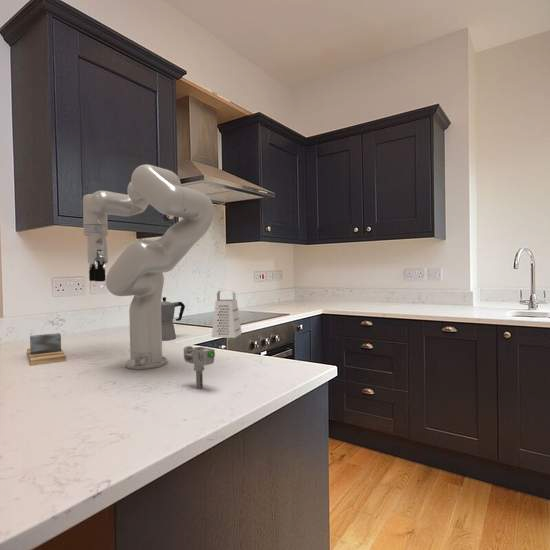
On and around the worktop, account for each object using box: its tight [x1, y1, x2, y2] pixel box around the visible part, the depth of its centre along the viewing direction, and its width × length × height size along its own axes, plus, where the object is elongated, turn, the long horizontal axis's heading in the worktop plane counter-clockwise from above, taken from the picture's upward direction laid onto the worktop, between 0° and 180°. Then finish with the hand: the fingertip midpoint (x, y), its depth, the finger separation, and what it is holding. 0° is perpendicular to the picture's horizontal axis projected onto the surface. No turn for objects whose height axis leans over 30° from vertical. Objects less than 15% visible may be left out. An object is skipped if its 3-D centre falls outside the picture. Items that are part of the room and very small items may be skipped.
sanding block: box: [29, 332, 62, 355], centre depth 135 cm, size 9×4×6 cm, turn 125°
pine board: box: [26, 348, 67, 366], centre depth 135 cm, size 24×10×2 cm, turn 35°
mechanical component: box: [183, 345, 216, 389], centre depth 96 cm, size 3×10×10 cm, turn 51°
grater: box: [211, 289, 243, 339], centre depth 171 cm, size 10×10×20 cm
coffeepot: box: [161, 296, 186, 342], centre depth 166 cm, size 15×9×18 cm, turn 118°
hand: (97, 281), depth 132 cm, fingers open, 9 cm apart
